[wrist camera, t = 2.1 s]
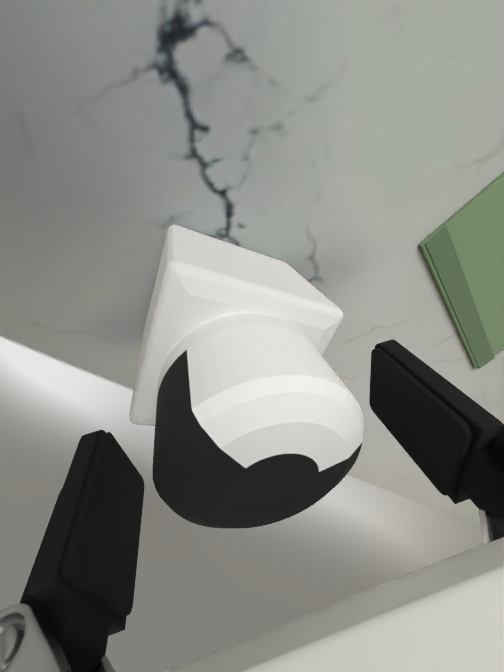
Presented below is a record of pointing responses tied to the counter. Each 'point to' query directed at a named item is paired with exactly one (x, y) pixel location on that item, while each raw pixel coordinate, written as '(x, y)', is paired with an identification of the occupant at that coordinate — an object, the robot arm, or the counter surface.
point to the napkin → (473, 271)
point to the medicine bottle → (241, 386)
